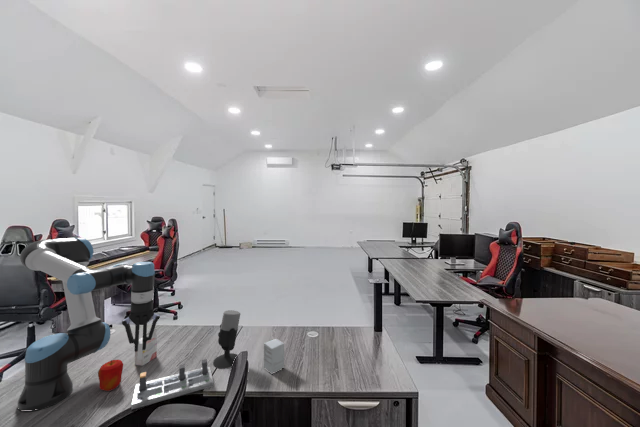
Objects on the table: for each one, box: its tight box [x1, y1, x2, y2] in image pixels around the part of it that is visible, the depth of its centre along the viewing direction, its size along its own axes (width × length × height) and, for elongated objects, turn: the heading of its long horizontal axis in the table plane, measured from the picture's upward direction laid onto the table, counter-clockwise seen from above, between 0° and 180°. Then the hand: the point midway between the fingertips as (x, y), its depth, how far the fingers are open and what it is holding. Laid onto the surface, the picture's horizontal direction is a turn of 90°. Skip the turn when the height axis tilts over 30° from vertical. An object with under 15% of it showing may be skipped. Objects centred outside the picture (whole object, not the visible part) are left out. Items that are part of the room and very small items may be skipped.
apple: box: [97, 359, 124, 392], centre depth 110 cm, size 9×8×12 cm
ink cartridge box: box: [134, 328, 158, 367], centre depth 130 cm, size 9×5×15 cm, turn 168°
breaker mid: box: [178, 363, 186, 381], centre depth 112 cm, size 3×3×6 cm
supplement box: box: [263, 338, 285, 373], centre depth 126 cm, size 7×7×13 cm
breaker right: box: [200, 358, 208, 375], centre depth 116 cm, size 3×3×6 cm
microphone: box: [212, 310, 241, 370], centre depth 131 cm, size 13×13×25 cm
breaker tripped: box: [138, 371, 148, 391], centre depth 105 cm, size 3×3×7 cm
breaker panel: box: [130, 365, 214, 410], centre depth 111 cm, size 29×13×4 cm, turn 119°
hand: (139, 358), depth 105 cm, fingers closed
